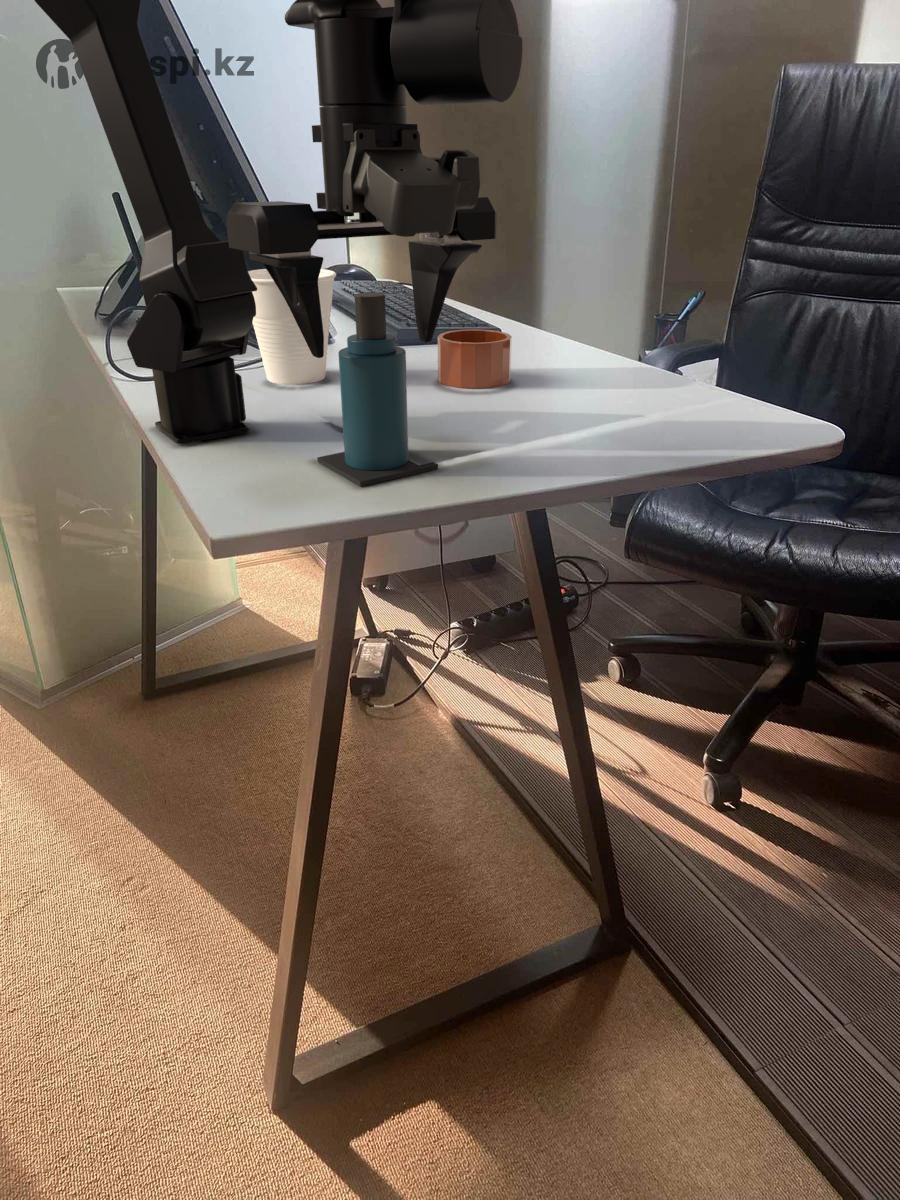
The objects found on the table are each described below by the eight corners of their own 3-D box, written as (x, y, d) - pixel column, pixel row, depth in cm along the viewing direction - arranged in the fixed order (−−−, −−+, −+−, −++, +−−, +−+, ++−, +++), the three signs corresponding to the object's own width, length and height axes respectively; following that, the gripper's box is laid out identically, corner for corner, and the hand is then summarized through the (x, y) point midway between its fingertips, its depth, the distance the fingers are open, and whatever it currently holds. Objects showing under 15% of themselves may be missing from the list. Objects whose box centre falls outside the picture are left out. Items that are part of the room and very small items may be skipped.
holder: (466, 397, 87) (466, 346, 84) (424, 382, 92) (424, 334, 90) (524, 386, 90) (526, 337, 88) (481, 372, 96) (482, 326, 94)
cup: (295, 398, 86) (285, 282, 81) (230, 383, 92) (217, 274, 86) (361, 379, 93) (356, 272, 88) (297, 367, 99) (289, 265, 93)
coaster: (360, 486, 64) (360, 481, 63) (317, 461, 69) (316, 457, 68) (438, 468, 67) (438, 464, 67) (391, 446, 72) (391, 442, 72)
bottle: (364, 475, 65) (356, 302, 59) (333, 458, 68) (322, 293, 62) (420, 463, 67) (417, 295, 61) (387, 447, 71) (381, 287, 65)
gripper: (285, 97, 46) (308, 389, 53) (551, 105, 55) (540, 352, 62) (209, 106, 54) (238, 358, 61) (452, 111, 63) (452, 329, 71)
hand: (373, 349), depth 64 cm, fingers open, 9 cm apart
